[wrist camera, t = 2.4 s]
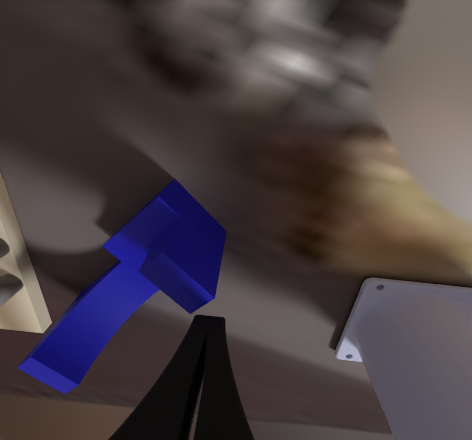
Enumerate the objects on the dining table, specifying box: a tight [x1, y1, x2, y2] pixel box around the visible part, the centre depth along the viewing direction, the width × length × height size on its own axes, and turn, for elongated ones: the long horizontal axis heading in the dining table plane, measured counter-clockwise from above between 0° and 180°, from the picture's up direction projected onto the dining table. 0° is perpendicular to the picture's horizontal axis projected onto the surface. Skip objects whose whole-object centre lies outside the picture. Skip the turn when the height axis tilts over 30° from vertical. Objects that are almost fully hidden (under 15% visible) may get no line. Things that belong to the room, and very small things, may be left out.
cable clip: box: [17, 179, 226, 394], centre depth 15 cm, size 12×4×6 cm, turn 131°
